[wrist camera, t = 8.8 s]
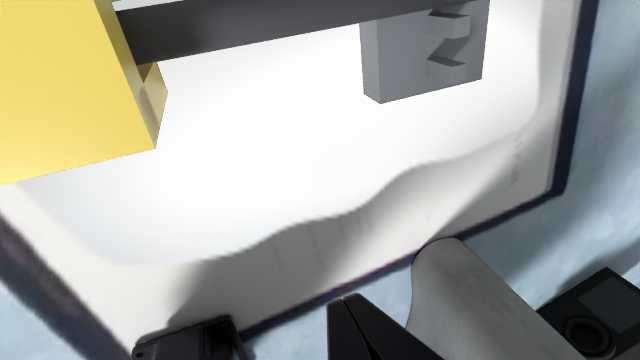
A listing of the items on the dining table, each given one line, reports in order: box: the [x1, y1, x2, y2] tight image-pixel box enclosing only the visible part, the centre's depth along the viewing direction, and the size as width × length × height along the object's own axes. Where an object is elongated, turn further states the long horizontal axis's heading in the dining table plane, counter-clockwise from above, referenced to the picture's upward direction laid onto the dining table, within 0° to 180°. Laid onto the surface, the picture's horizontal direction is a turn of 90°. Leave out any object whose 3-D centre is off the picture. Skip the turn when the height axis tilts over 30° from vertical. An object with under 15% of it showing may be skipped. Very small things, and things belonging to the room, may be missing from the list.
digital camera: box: [536, 267, 640, 360], centre depth 35 cm, size 10×5×7 cm, turn 117°
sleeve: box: [0, 0, 167, 186], centre depth 11 cm, size 5×5×7 cm
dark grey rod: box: [115, 0, 477, 66], centre depth 13 cm, size 26×5×6 cm, turn 98°
